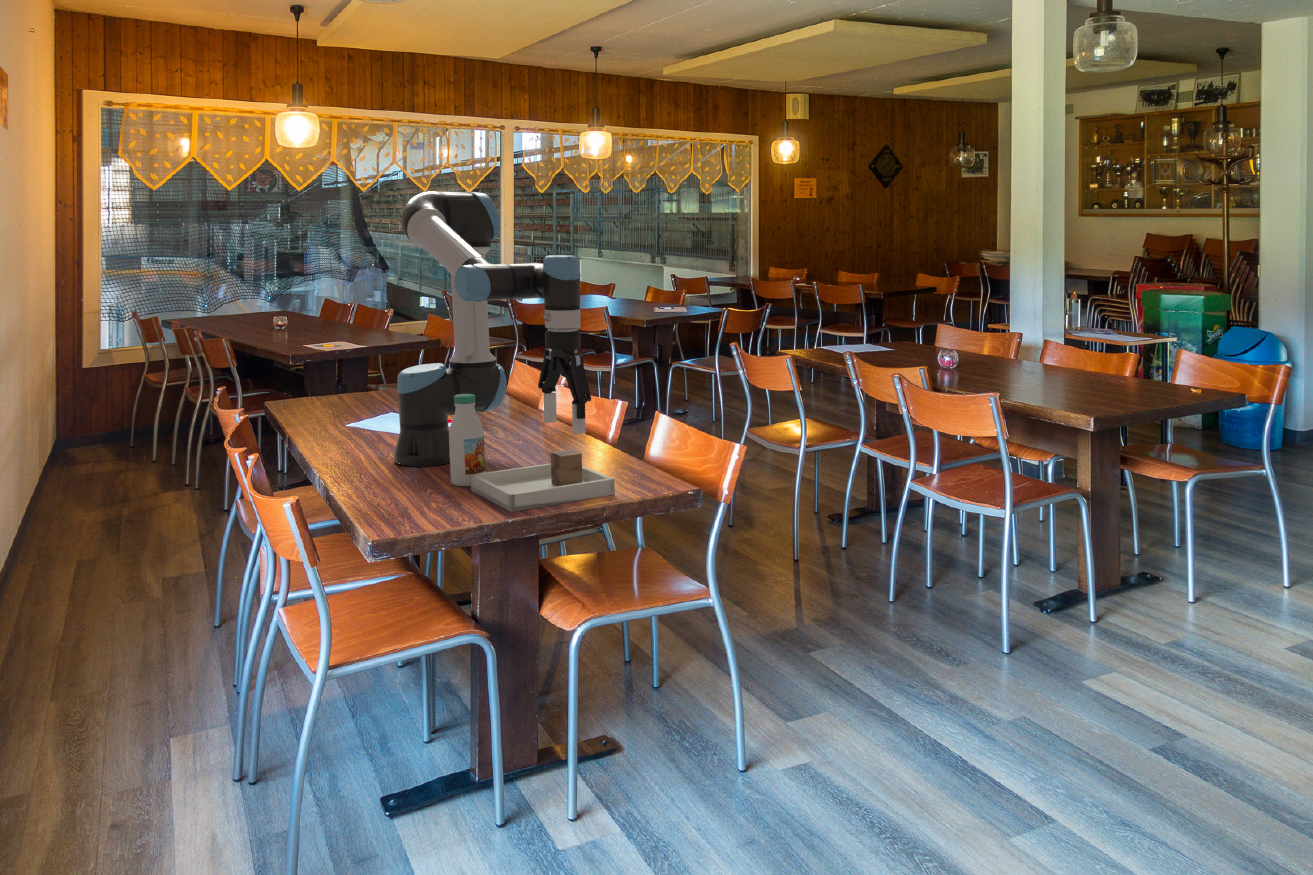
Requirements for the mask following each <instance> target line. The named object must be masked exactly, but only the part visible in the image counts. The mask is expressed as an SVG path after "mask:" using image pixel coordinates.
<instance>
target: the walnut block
mask: <svg viewBox="0 0 1313 875" xmlns="http://www.w3.org/2000/svg"><path fill="white" fill-rule="evenodd" d="M550 463H551V481H552V484H554V485H556V486H564V485H570V484H577V483H583V482H582V466H583V453H581V452H578V451H577V450H574V449H573V450H572V449H565V450H557V451H551V452H550Z"/></svg>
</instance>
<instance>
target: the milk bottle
mask: <svg viewBox="0 0 1313 875" xmlns="http://www.w3.org/2000/svg"><path fill="white" fill-rule="evenodd" d="M454 403H455V404H454V405H455V407H456V409H455V414H454V415H453V418H452V420H451V423H450V425H449V451H450V463H449V467H450V470H449V472H450V482H451V484H452V485H454V486H456V487H471V475H472V474H479V473H486V450H485V436H484V434H485V433H484V429H483V425H482V422H481V420H480V419H479V417H478V414H477V412H476V411H475V407H474V405H475V395H473V394H458V395H455V396H454Z"/></svg>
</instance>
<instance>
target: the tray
mask: <svg viewBox="0 0 1313 875" xmlns="http://www.w3.org/2000/svg"><path fill="white" fill-rule="evenodd" d="M615 481H616V480H615V478H613V477H611V476H608V475H605V474H603V473H601V472H598V471H596V470H593V469H592V468H591V469H590V468H588V467H586V466H583V465H582V482H583V483H577V484H570V485H564V486H556V485H554V484H552V481H551V462H550V463H544V464H537V465H530V466H523V467H516V468H508V469H502V470H493V471H487V472H486V473H479V474H472V475H471V486H470V490H471V491H472V492H474V493H475V494H477V495H479V496H481V497H483V498H484V499H486V500H488V501H490V502H492V503H494V504H495V505H497V506H499V507H500V508H502V509H504V510H506V511H508V512H509V513H513V512H519V511H526V510H531V509H539V508H544V507H550V505H551V506H555V505H556V506H557V505H563V504H568V503H574V501H575V502H579V501H580V502H581V501H586V500H585V499H587V500H591V499H590V498H593V499H596V498H595V497H599V498H604V496H605V497H609V495H611V496H615V495H616V485H615V484H616V483H615Z"/></svg>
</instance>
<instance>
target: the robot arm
mask: <svg viewBox="0 0 1313 875" xmlns="http://www.w3.org/2000/svg"><path fill="white" fill-rule="evenodd" d="M401 212H402V213H401V218H400V223H401V228H402V231H403V234H404V235H405V237H406V238H407V239H408V240H409V241H410V242H411V243H412V244H413V245H414V246H416V247H418V248H421V249H425V250H426V251H427V252H428V253H429V254H430V255H431V256H432V257H433V258H434V259H435V260H436V261H437V262H438V263H439V264H440V265H441V266H442V267H443V268H445V269H446V271H448V272H449V274H450V282H451V283H450V284H451V298H452V299H451V300H452V302H451V304H452V318H453V338H454V342H453V343H454V354H453V355H452V356H451V357H450V358H449V359H448V360H449V362H448V363H449V368H447V367H446V366H445V364H443V363H441V362H436V363H435V362H434V363H433V362H432V363H425V364H418V365H414V366H409V367H407V368H405V369H403V370H401V371H400V372H399V373H398V374H397V388H396V393H397V401H398V416H399V434H398V438H397V443H396V446H395V450H394V453H393V454H394V458H393V459H394V463H395V462H397V463H400V464H402V465H401V466H404V465H408V466H407V467H432V466H440V465H445V464H450V451H449V430H450V426H449V416H454V414H455V409H456V407H455V405H454V404H455V403H454V396H455V395H458V394H473V395H475V405H474V407H475V411H476V413H485V412H488V411H492V410H496V409H498V408H499V407H500V406H501V405H502V403H503V402H504V400H505V396H506V392H507V384H508V383H507V376H506V374H505V370H504V367H503V366H501V365H500V364H498V363H497V357H496V356H495V355H493V354H492V353H491V350H490V347H491V346H490V331H489V310H488V309H489V308H488V307H489V306H488V305H489V304H488V302H489V301H502V300H527V299H541V300H543V301H544V302H543V303H544V307H543V308H544V314H543V320H544V327H545V329H547V330H545V331H544V346H545V348H544V350H543V360H542V366H541V370H540V374H539V380H538V384H537V387H538V389H539V390H540V389H541V392H542V393H543V423H544V424H549V423H557V422H558V421H557V420H558V418H557V416H558V415H557V393H556V392H557V389H556V387H557V385H558V382H559V379H560V377H561V375H562V377H564V378H565V380H566V383H567V385H568V388H569V390H570V395H571V397H572V399H573V400H572V401H571V407H572V408H571V411H572V412H571V416H572V419H571V420H572V421H571V422H572V423H571V424H572V431H571V432H572V435H581V434H586V430H587V429H586V426H587V425H586V404H587V403H588V402H591V401H592V394H591V391H590V386H589V382H588V379H587V373H586V369H585V366H584V365H585V364H584V362H585V361H584V355H583V354H580V355H576V349H579V348H581V345H582V344H581V343H582V342H581V337H582V334H581V331H580V330H579V329H580V328H581V272H580V260H579V258H578V257H577V256H576V255H570V254H569V255H568V254H567V255H565V254H561V255H560V254H558V255H557V254H554V255H553V254H551V255H550V254H549V255H546V256H545V257H543V258H544V259H543V263H540V262H538V261H537V262H535V261H534V262H531V261H529V262H528V261H527V262H524V263H495V264H494V263H491V262H490V261H489V260H487V259H486V255H487V254H488V252H490V251H491V249H492V241H494V240H496V239H497V238H498V235H499V231H500V228H501V227H500V224H501V223H500V216H499V212H498V209H497V206H496V204H495V203H494V201H493V199H492V198H491V197H490V196H489V195H487V194H486V193H483V192H475V191H436V190H435V191H425V192H421V193H418V194H417V195H415V196H413V197H411V199H410V200H408V202H407V203H406V204H405V206H404V207H403V209H402V211H401ZM397 463H396V464H397Z"/></svg>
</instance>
